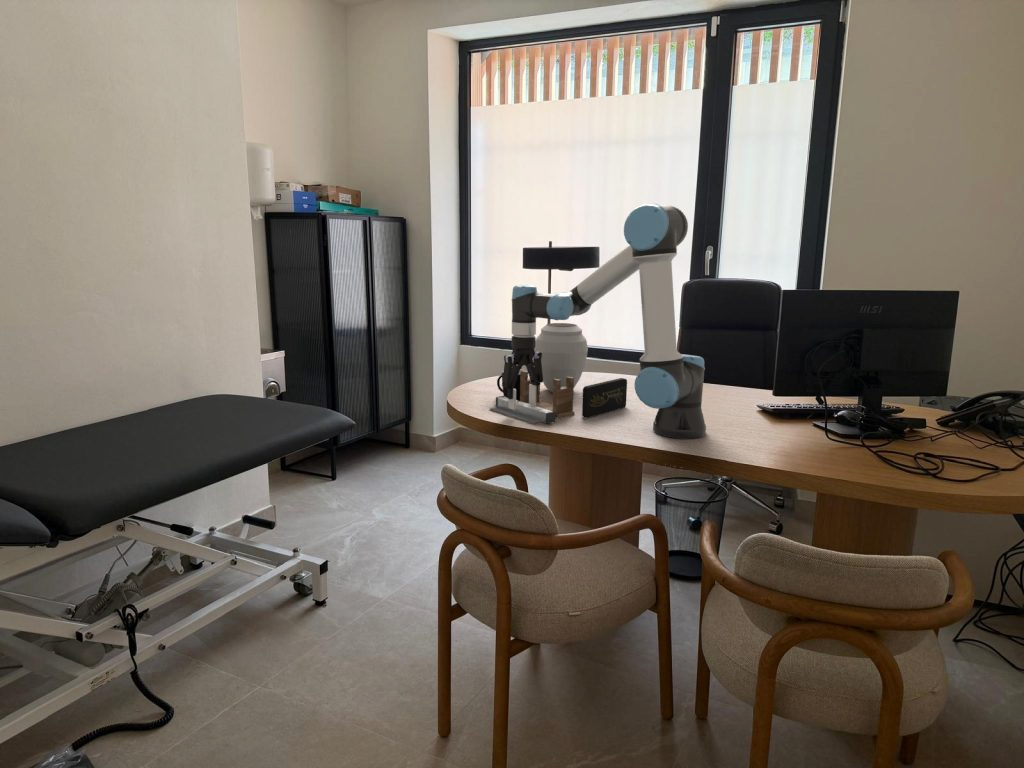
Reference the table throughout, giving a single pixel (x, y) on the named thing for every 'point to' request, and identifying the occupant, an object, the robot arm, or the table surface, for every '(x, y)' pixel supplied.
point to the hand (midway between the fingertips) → (522, 406)
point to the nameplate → (604, 397)
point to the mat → (516, 415)
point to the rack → (560, 396)
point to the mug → (517, 386)
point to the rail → (527, 410)
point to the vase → (561, 353)
